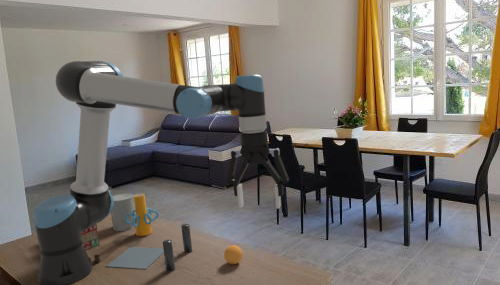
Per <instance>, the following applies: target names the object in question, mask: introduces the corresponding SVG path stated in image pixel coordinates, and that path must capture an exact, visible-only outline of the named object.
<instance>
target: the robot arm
mask: <svg viewBox="0 0 500 285" xmlns="http://www.w3.org/2000/svg"><path fill="white" fill-rule="evenodd" d="M55 85H56V89H57V91H58V92H59V94H60V95H61V96H62V97H63V98H64V99H66V100H68V101H70V102H74V103H75V104H76V106H78V108H79V109H80V117H79V118H80V119H79V133H78V135H79V136H78V146H77V147H78V148H77V161H76V173H75V174H76V177H75V178H76V179H75V181H74V182H72V183H71V184H70V188H69V189H70V190H69V194H63V195H61V194H60V195H56V196H53V197H49V198H46V199H45V200H42V201H41V202H40V203H38V204H37V205H36V207H35V208H34V210H33V217H34V220H33V221H34V226H35V231H36V236H37V242H38V246H39V247H38V248H39V252H40V259H39V266H38V267H39V269H38V271H37V279H38V283H39V284H40V285H70V284H72V283H76V282H78V281H80V280H82V279H83V278H86V277H87V276H88V275H89V274H90V273H91V272H92V271H93V267H94V266H93V261H92V259H91V257H90V256H89V255H88V253H87V250H85V248H84V247H83V243H82V237H81V232H82V231H84V230H86V229H88V228H89V227H91V226H93V225H95V224H99V223H101V222H102V221H103V220H105V219H106V218H107V217H108V216H109V215H111V211H112V209H113V205H114V200H113V196H114V195H112V193H111V190H110V189H109V185H108V184H107V183H106V182H105V178H106V177H105V176H106V164H107V153H108V142H109V141H108V140H109V129H110V120H111V118H110V117H111V112H112V111H114V110H115V109H116V106H117V105H121V106H125V107H134V108H140V109H146V110H152V111H157V112H165V113H171V114H176V115H181V116H182V117H184V118H185V119H187V120H188V119H189V120H194V119H195V120H199V119H202V118H204V117H206V116H209V115H213V114H215V113H219V112H231V111H233V112H235V111H238V123H239V124H238V125H239V131H240V132H241V133H239V135H240V136H239V137H240V146H241V148H240V149H233V150H231V152H230V156H231V160H230V164H229V170H228V174H227V178H226V183H227V184H228V185H229V184H230V185H232V186H233V194H234V196H235V197H237V203H238V209H242V208H243V206H244V205H245V204H244V203H245V202H244V201H245V200H244V192H243V183H240V182H241V179H242V178H243V176H244V174H245V172H246V170H247V168H248V166H249V165H253V164H254V165H255V164H257V165H261V164H262V166H263V167H264V168H265V169H266V171H267V172H268V173H269V175H270V176H271V178H272V179H273V181H274V182H275V183H276V184H274V185H275V186H274V192H275V193H274V196H275V206H276V207H275V208H276V209H280V208H281V206H282V204H281V203H282V202H281V197H283V196H284V185H286V184H288V182H289V181H290V177H289V175H288V173H287V171H286V168H285V165H284V162H283V160H282V157H281V149H280V148H279V147H276V148H270V147H269V141H268V131H267V130H266V129H267V127H268V125H267V115H266V104H265V89H264V82H263V77H262V75H260V74H257V73H256V74H247V75H237V76H236V77H235V82H232V83H227V84H226V83H225V84H205V85H201V86H192V85H187V84H185V85H184V84H178V83H171V82H170V83H169V82H165V81H157V80H150V79H143V78H136V77H128V76H124V74H123V73H122V71H121V70H120V68H118V67H117V65H115V64H114V63H111V62H108V61H107V62H106V61H100V60H93V61H91V60H87V61H81V60H77V61H76V60H74V61H71V62H67V63H65V64H64V65H62V66H61V67H60V68H59V70H57V72H56V74H55ZM269 154H271V156H272V157H273V158H274V161H275V162H274V163H275V165H276V167H277V169H278V171H277V170H276V168H275V166H273V164H272V162H271V160H270V159H269V158H268V157H269ZM240 155H241V156H242V157H243V159H244V160H243V162H242V163H241V166H240V169H239V170H238V172H237V175H236V176H235V173H236V169H237V163H238V160H239V157H240ZM234 178H235V179H234Z"/></svg>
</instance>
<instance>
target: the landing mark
mask: <svg viewBox="0 0 500 285" xmlns="http://www.w3.org/2000/svg"><path fill="white" fill-rule="evenodd" d="M162 255H164V248H162V247H160V248H159V247H143V246H142V247H141V246H131V247H129V248H127V249H126V250H125V251H124V252H122V253H121V254H120V255H119V256H117V257H116V258H115V259H114V260H112V261H111V262H109V264H107V265H106V267H107V268H120V269H121V268H123V269H135V270H147V269H148V268H149V267H150V266H151V265H152V264H154V262H156V261H157V260H158V259H159V257H161V256H162Z"/></svg>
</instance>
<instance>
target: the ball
mask: <svg viewBox="0 0 500 285" xmlns="http://www.w3.org/2000/svg"><path fill="white" fill-rule="evenodd" d="M223 257H224V260H225V262H227V263H228V264H230V265H236V264H238V263H240V262H241V261H242V258H243V251H242V249H241V248H240V246H238V245H234V244H232V245H229V246H227V247H225V250H224V252H223Z"/></svg>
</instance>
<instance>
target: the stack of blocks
mask: <svg viewBox="0 0 500 285" xmlns="http://www.w3.org/2000/svg"><path fill="white" fill-rule="evenodd" d="M97 225H98V223H96V224H95V225H93V226H91V227H89V228H88V229H86V230H84V231H82V232H81V237H82V243H83V247H84V248H85V250H86V251H87V250H90V249H92V248H93V249H94V248H95V247H97V246H100V239H99V232H98V226H97Z"/></svg>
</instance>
